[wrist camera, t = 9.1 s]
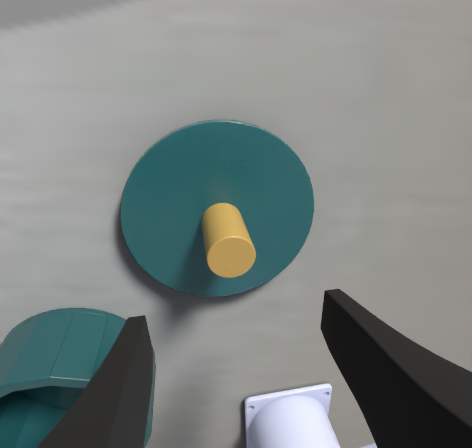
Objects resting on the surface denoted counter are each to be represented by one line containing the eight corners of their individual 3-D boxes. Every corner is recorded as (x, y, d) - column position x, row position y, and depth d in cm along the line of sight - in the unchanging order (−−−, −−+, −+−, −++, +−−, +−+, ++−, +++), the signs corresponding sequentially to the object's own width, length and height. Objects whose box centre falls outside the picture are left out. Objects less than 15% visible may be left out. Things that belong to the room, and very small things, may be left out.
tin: (164, 396, 27) (161, 469, 22) (28, 419, 26) (-5, 502, 21) (142, 297, 22) (132, 363, 17) (-28, 320, 21) (-88, 398, 16)
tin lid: (302, 275, 23) (332, 327, 19) (141, 297, 22) (132, 358, 18) (314, 110, 18) (359, 128, 14) (102, 125, 17) (76, 150, 12)
